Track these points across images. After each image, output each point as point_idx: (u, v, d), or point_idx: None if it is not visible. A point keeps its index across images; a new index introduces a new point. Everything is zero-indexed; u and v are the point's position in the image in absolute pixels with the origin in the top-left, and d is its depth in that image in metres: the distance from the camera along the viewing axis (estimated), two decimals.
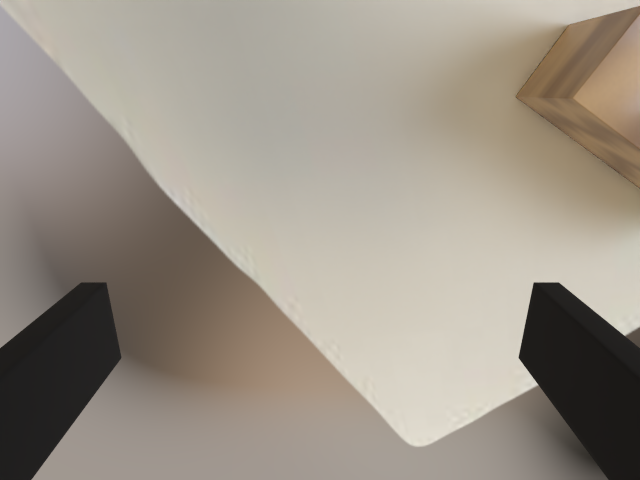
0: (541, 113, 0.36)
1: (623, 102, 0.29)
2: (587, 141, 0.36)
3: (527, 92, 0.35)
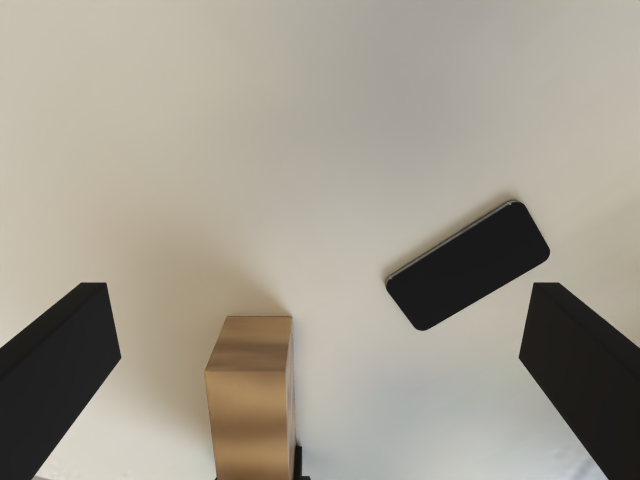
0: None
1: (227, 402, 0.35)
2: None
3: (227, 325, 0.41)
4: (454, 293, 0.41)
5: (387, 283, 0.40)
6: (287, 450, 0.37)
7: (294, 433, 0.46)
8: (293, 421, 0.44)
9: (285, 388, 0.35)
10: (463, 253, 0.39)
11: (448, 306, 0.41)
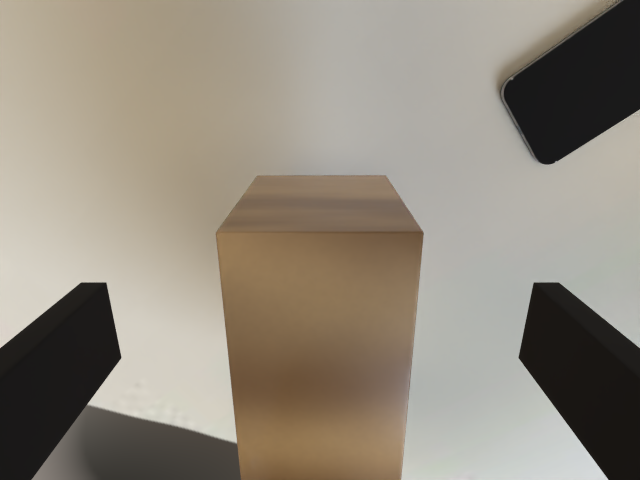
0: None
1: (270, 317, 0.15)
2: None
3: (260, 182, 0.20)
4: (600, 103, 0.29)
5: (506, 87, 0.29)
6: (403, 435, 0.16)
7: None
8: None
9: (417, 281, 0.14)
10: (621, 34, 0.27)
11: (589, 123, 0.29)
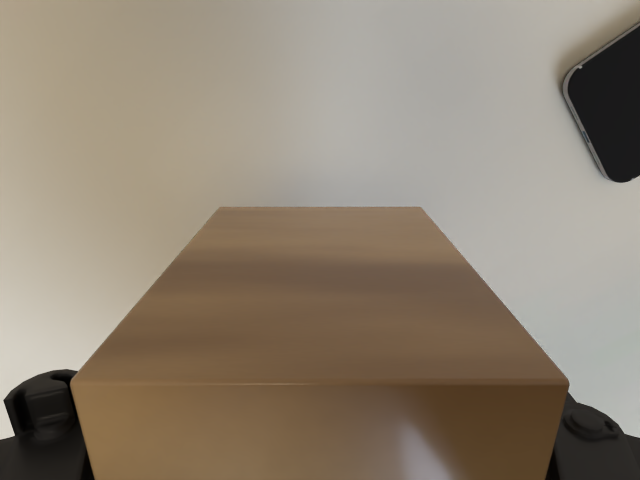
0: None
1: None
2: None
3: (219, 221, 0.12)
4: None
5: (571, 78, 0.21)
6: None
7: None
8: None
9: (540, 476, 0.06)
10: None
11: None
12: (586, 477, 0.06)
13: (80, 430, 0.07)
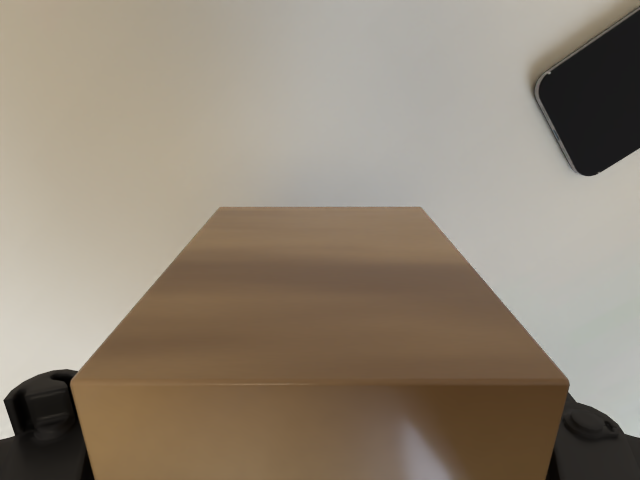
0: None
1: None
2: None
3: (219, 221, 0.12)
4: None
5: (542, 83, 0.24)
6: None
7: None
8: None
9: (541, 477, 0.06)
10: None
11: None
12: (586, 477, 0.06)
13: (80, 430, 0.07)
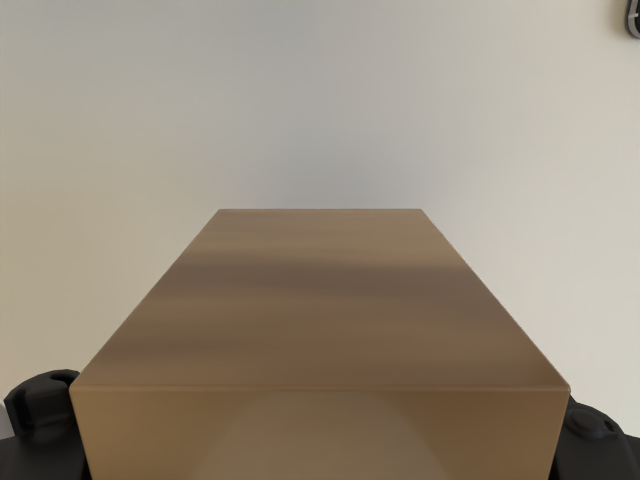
0: None
1: None
2: None
3: (219, 224, 0.12)
4: None
5: (638, 28, 0.20)
6: None
7: None
8: None
9: None
10: None
11: None
12: (586, 477, 0.06)
13: None
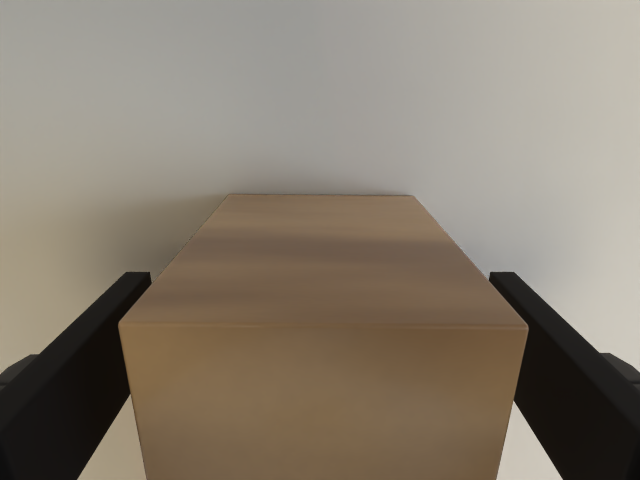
0: None
1: (230, 469, 0.08)
2: None
3: (230, 206, 0.13)
4: None
5: None
6: None
7: None
8: None
9: (507, 410, 0.07)
10: None
11: None
12: None
13: None
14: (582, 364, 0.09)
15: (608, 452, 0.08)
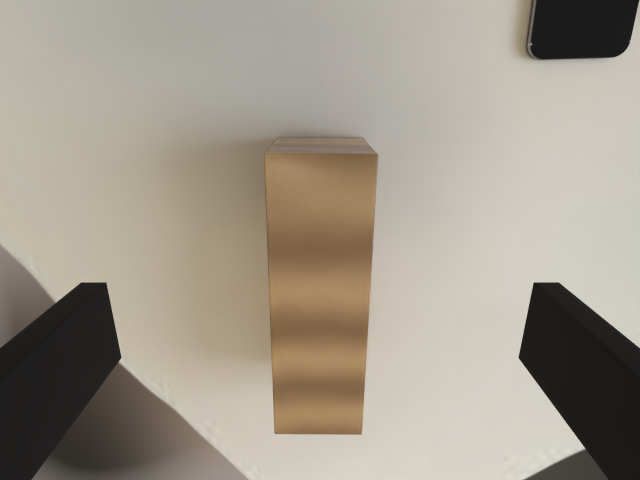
0: None
1: (292, 205, 0.26)
2: None
3: (281, 139, 0.31)
4: None
5: (533, 52, 0.30)
6: (369, 285, 0.28)
7: None
8: None
9: (375, 183, 0.25)
10: None
11: None
12: None
13: None
14: None
15: None
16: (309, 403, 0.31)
